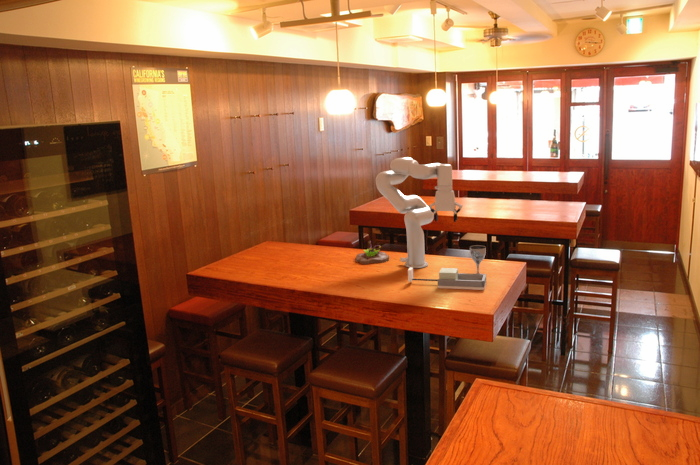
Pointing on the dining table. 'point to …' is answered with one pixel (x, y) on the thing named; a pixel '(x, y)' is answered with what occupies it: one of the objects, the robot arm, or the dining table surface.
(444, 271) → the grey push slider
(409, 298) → the dining table surface
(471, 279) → the lane tray
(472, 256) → the wine glass
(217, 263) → the dining table surface
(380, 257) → the plant
